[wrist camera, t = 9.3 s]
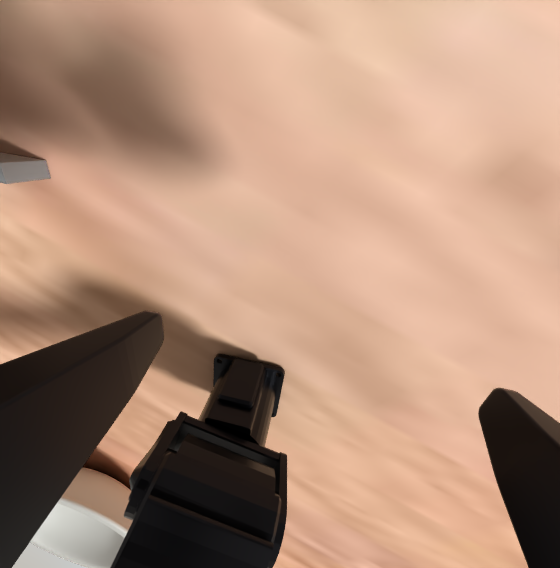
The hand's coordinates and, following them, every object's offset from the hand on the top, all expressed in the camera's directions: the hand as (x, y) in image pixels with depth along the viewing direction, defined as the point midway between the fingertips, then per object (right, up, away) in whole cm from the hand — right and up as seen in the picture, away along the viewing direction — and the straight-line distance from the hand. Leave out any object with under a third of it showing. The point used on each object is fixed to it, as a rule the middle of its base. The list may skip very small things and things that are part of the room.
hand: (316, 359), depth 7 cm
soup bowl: (-29, -29, +35) cm, 54 cm away
